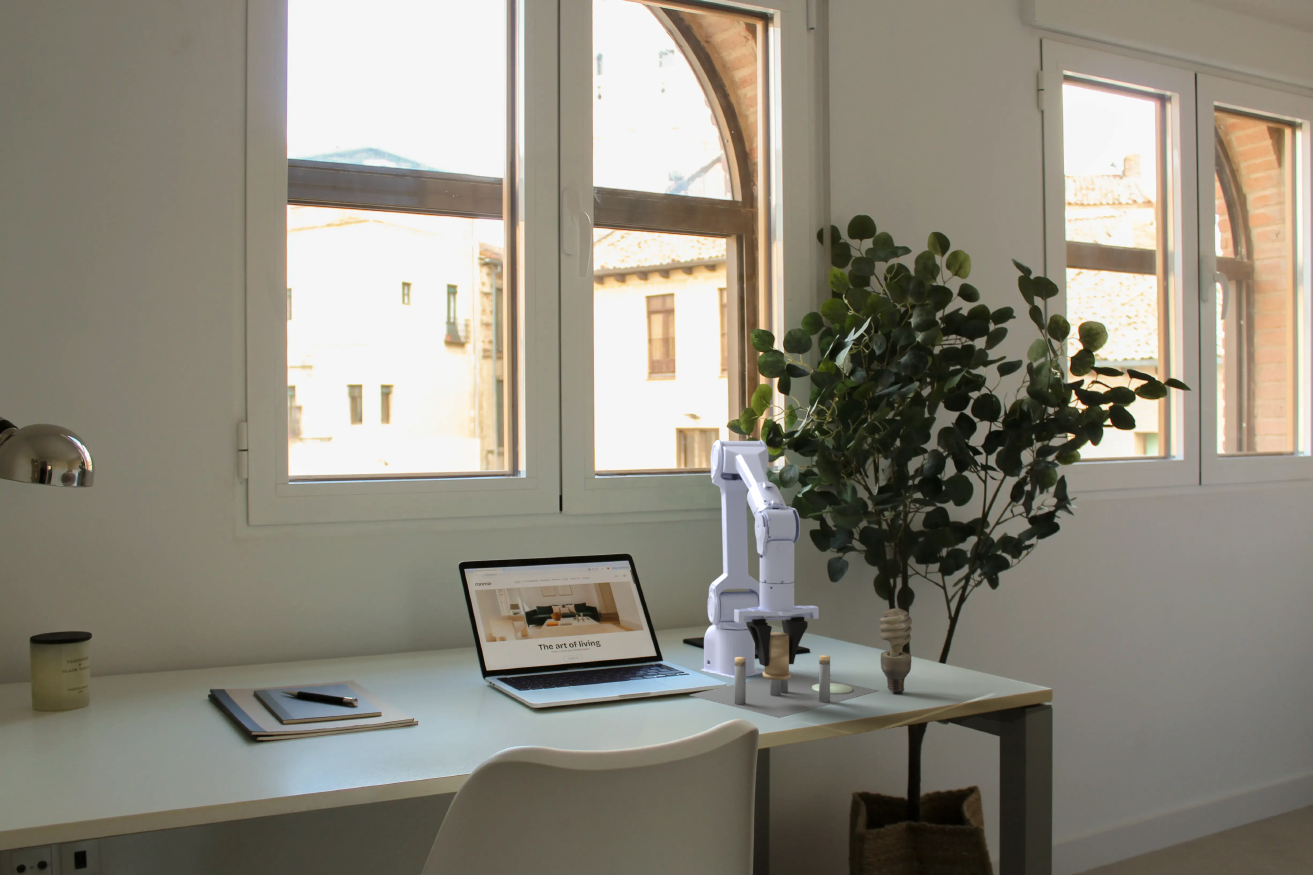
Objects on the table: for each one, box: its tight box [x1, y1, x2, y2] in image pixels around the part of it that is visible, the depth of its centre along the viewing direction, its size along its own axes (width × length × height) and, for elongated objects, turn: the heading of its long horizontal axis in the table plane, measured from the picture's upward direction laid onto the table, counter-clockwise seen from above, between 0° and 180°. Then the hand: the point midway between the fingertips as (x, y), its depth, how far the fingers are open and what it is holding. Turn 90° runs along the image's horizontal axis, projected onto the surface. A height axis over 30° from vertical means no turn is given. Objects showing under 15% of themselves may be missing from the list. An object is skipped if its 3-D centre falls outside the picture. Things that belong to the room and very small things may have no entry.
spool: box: [762, 631, 791, 680], centre depth 170 cm, size 5×5×7 cm
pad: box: [812, 683, 852, 694], centre depth 180 cm, size 7×7×1 cm
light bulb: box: [879, 607, 913, 695], centre depth 178 cm, size 6×6×15 cm
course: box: [689, 655, 880, 719], centre depth 178 cm, size 20×27×8 cm
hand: (776, 664), depth 170 cm, fingers closed on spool, 4 cm apart
